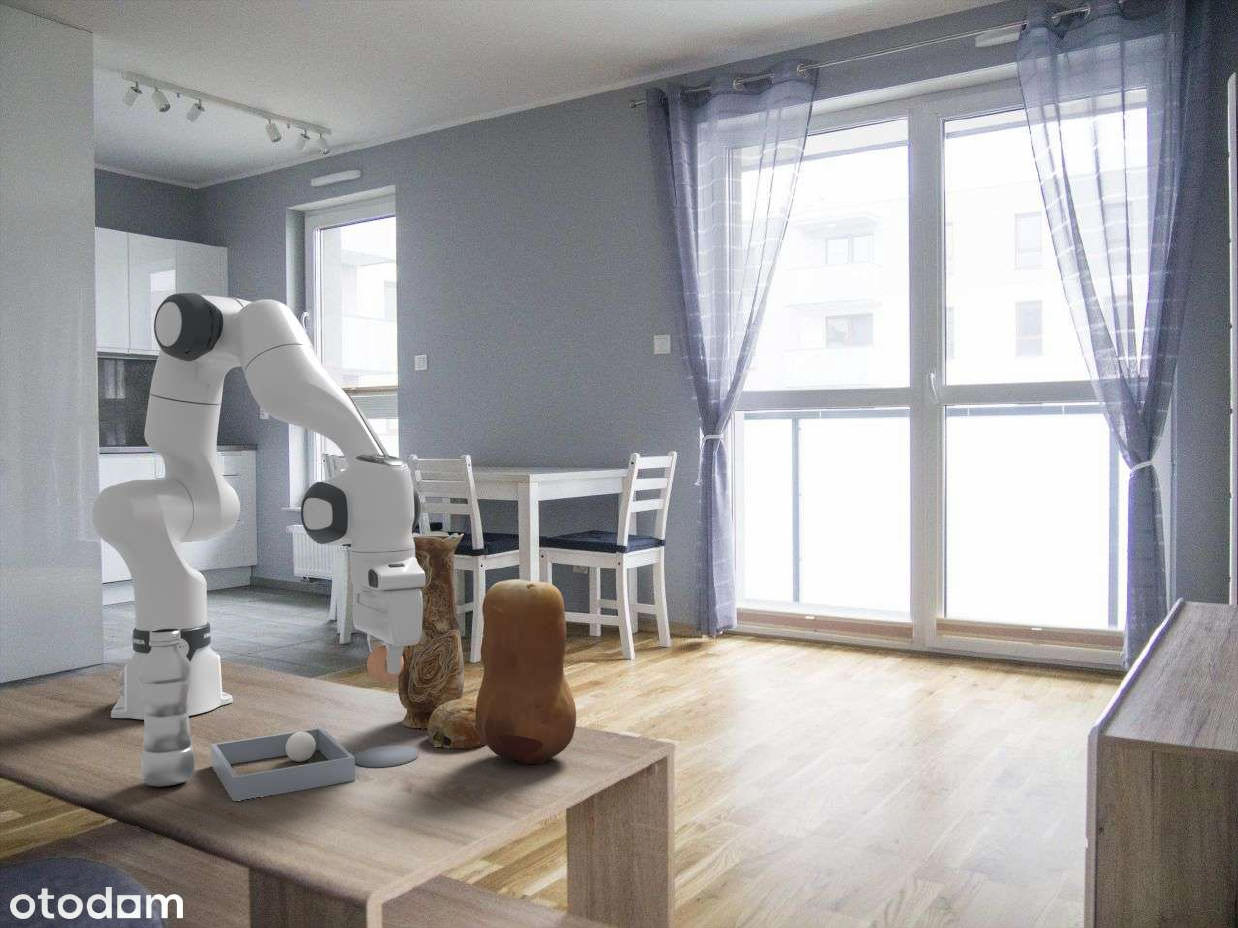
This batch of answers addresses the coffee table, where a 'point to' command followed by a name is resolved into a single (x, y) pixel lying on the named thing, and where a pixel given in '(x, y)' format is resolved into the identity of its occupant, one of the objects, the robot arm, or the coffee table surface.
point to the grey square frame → (282, 779)
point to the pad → (385, 756)
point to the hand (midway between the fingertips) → (385, 669)
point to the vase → (433, 635)
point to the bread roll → (454, 725)
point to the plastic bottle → (166, 711)
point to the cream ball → (300, 746)
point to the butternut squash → (524, 673)
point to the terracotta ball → (380, 665)
